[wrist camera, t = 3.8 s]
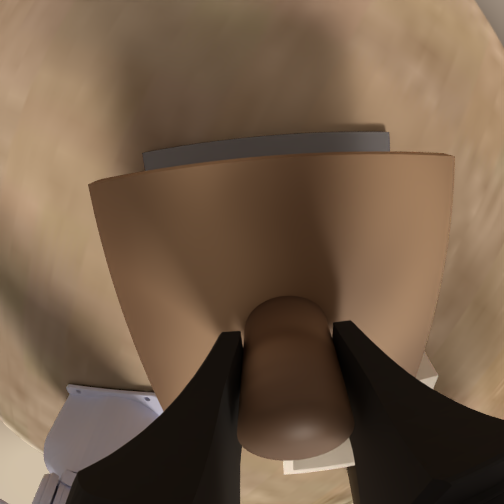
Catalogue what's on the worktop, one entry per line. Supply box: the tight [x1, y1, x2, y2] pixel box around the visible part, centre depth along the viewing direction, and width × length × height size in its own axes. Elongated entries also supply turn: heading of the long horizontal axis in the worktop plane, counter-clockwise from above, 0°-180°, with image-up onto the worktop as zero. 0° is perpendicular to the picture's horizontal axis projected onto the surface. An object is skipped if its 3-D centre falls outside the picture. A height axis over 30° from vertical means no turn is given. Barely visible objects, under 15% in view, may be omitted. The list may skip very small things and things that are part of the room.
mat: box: [142, 132, 390, 171], centre depth 17 cm, size 13×13×1 cm
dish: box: [283, 351, 438, 475], centre depth 21 cm, size 11×11×4 cm
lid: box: [88, 151, 455, 461], centre depth 9 cm, size 12×12×5 cm
